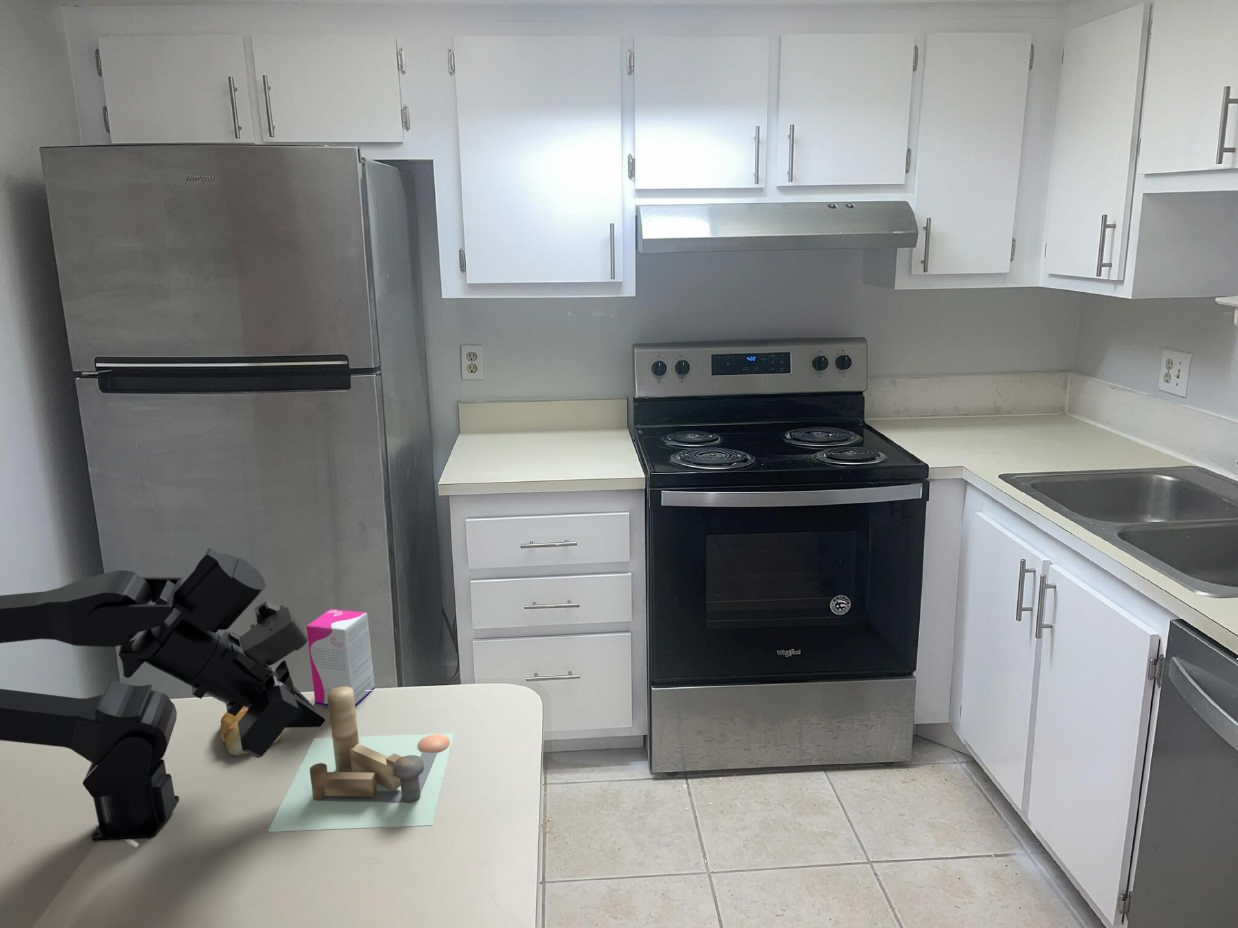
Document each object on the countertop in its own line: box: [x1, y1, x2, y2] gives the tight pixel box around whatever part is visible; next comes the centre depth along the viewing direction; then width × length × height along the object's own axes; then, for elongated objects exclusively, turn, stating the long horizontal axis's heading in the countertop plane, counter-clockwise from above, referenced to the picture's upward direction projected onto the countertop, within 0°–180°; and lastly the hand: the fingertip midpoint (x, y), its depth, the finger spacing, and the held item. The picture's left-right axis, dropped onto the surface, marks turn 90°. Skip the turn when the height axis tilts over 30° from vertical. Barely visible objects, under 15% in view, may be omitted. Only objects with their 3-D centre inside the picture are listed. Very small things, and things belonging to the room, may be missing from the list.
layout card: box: [267, 732, 455, 833], centre depth 101 cm, size 17×17×1 cm
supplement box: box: [306, 608, 376, 708], centre depth 117 cm, size 6×6×12 cm
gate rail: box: [327, 686, 424, 791], centre depth 99 cm, size 13×3×10 cm, turn 57°
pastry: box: [219, 706, 283, 757], centre depth 110 cm, size 9×7×4 cm
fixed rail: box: [310, 763, 421, 803], centre depth 97 cm, size 12×2×4 cm, turn 87°
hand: (322, 721), depth 100 cm, fingers closed
